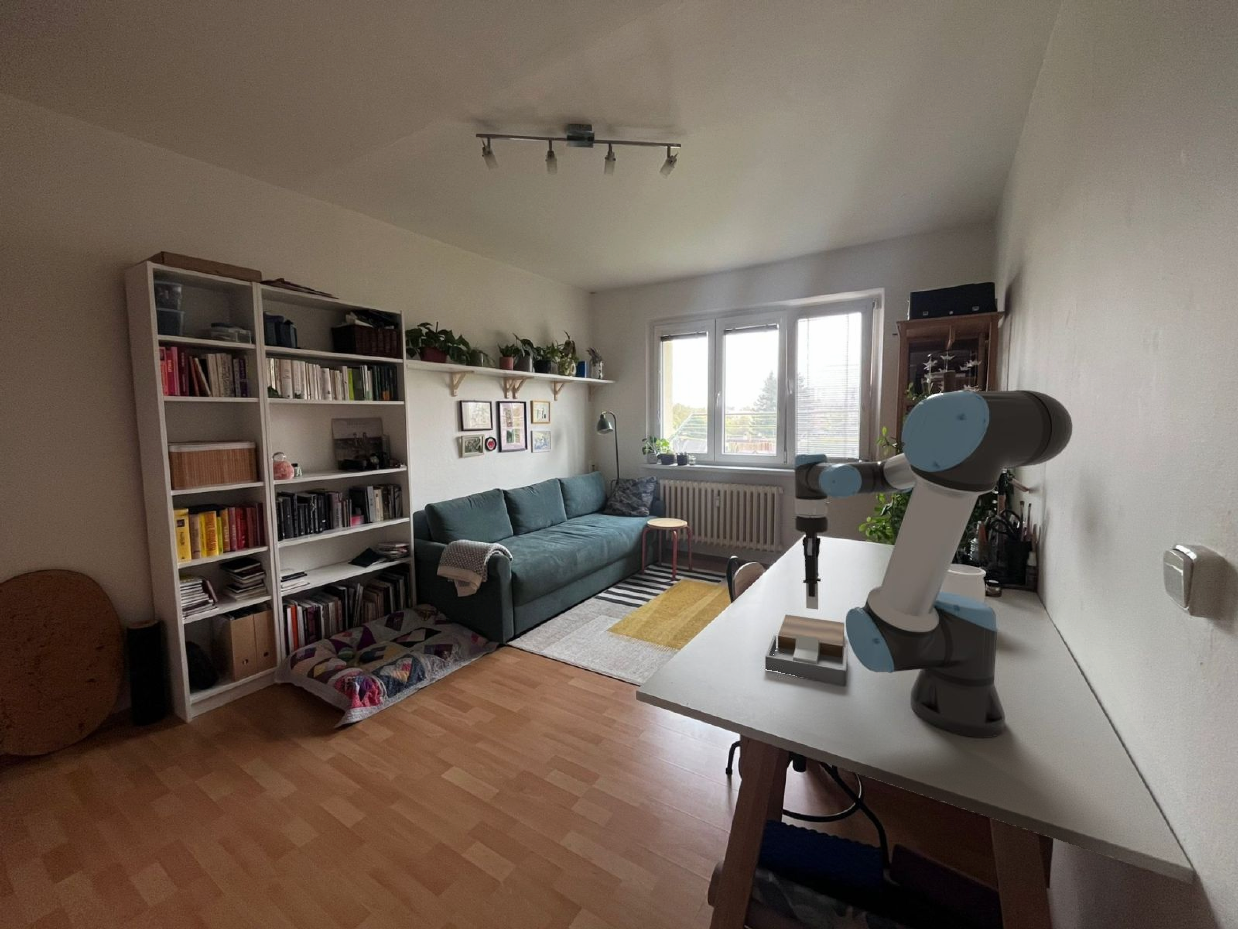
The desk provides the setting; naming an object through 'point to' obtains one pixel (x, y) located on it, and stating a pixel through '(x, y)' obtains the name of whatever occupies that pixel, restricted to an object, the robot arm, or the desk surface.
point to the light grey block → (806, 656)
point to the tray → (807, 665)
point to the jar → (965, 581)
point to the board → (813, 634)
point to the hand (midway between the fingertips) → (812, 607)
